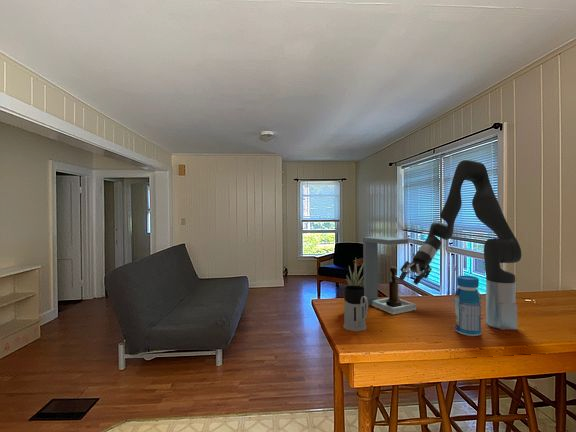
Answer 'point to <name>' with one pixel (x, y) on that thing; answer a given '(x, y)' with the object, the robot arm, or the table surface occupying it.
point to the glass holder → (355, 308)
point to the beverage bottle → (468, 306)
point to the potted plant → (355, 278)
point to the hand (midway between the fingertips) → (407, 281)
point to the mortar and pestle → (393, 290)
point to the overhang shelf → (372, 274)
